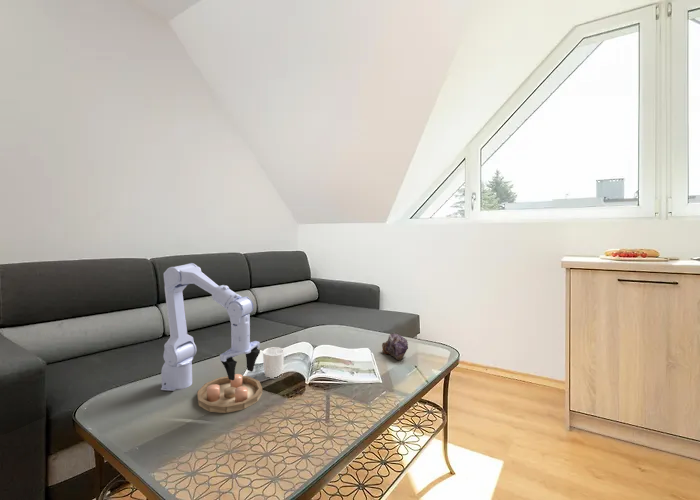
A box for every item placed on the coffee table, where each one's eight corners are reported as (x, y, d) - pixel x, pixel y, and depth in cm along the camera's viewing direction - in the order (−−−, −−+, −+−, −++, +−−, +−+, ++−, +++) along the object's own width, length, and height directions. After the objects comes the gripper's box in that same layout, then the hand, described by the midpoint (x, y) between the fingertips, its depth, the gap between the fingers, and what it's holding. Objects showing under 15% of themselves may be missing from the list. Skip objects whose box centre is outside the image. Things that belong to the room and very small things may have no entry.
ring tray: (186, 412, 118) (185, 403, 118) (214, 380, 139) (214, 373, 138) (249, 417, 117) (249, 408, 117) (268, 384, 137) (268, 377, 137)
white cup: (279, 382, 139) (279, 356, 138) (259, 379, 141) (259, 354, 139) (286, 372, 147) (287, 348, 145) (267, 370, 148) (268, 346, 147)
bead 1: (212, 403, 123) (211, 391, 122) (204, 399, 125) (204, 387, 124) (222, 397, 126) (222, 386, 125) (214, 394, 128) (214, 383, 127)
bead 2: (228, 389, 131) (228, 378, 131) (233, 384, 135) (233, 373, 135) (240, 390, 131) (239, 379, 130) (244, 384, 135) (244, 374, 134)
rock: (393, 364, 160) (412, 359, 165) (395, 346, 158) (414, 342, 162) (378, 350, 170) (397, 346, 175) (380, 333, 167) (399, 329, 172)
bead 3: (233, 403, 123) (233, 392, 122) (237, 397, 127) (237, 386, 126) (245, 404, 122) (245, 393, 122) (249, 398, 126) (249, 386, 126)
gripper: (230, 344, 113) (230, 387, 115) (266, 331, 125) (266, 370, 127) (215, 339, 117) (216, 380, 119) (251, 326, 129) (251, 364, 131)
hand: (240, 374), depth 123 cm, fingers open, 7 cm apart
